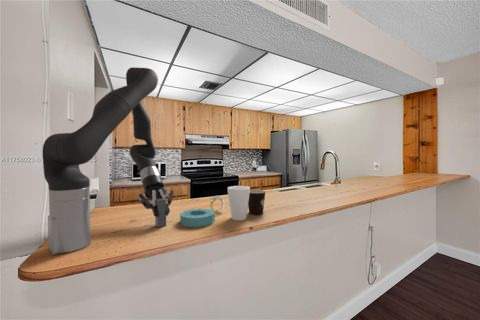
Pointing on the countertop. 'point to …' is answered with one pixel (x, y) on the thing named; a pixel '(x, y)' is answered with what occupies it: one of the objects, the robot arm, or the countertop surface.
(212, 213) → the teal ring
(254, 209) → the coffee mug
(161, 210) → the gray rectangular block
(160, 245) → the countertop surface
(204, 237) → the countertop surface
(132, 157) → the robot arm
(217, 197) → the bracelet
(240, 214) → the foam cup
